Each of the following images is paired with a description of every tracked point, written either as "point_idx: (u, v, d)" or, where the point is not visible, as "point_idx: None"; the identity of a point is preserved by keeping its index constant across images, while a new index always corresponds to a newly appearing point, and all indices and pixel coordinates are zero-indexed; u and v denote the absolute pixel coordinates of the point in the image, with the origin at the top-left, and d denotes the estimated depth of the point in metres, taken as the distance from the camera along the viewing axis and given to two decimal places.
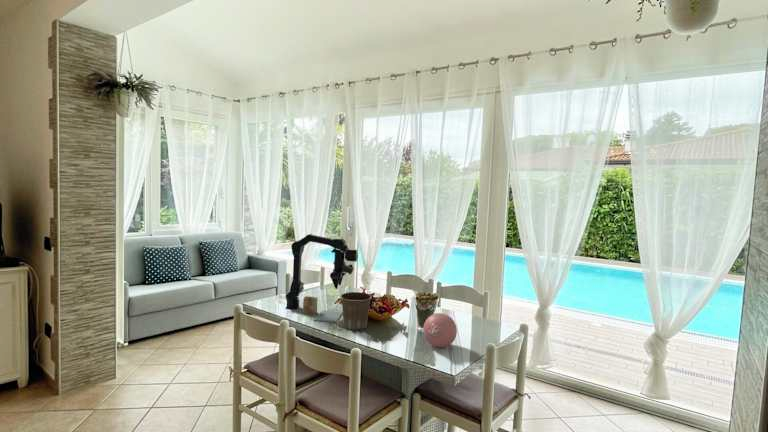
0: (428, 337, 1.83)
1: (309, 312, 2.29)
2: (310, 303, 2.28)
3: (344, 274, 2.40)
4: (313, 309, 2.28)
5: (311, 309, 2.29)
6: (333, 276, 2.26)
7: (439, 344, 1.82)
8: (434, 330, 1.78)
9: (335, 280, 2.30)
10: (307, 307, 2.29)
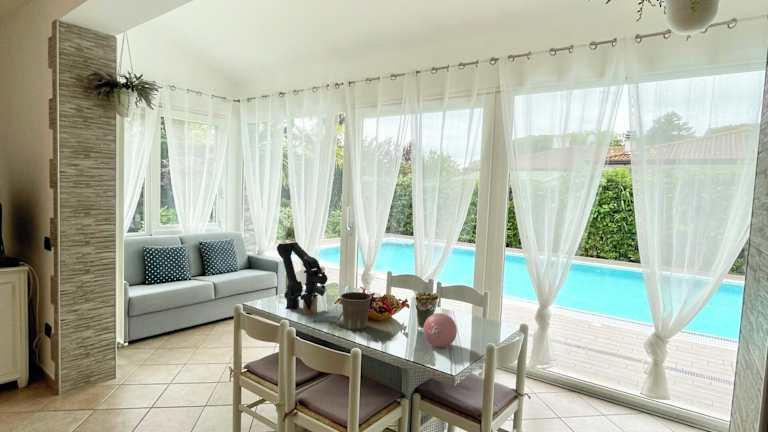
0: (428, 337, 1.83)
1: (309, 312, 2.29)
2: None
3: (316, 296, 2.33)
4: (313, 309, 2.28)
5: (311, 309, 2.29)
6: (304, 298, 2.21)
7: (439, 344, 1.82)
8: (434, 330, 1.78)
9: (307, 301, 2.27)
10: None
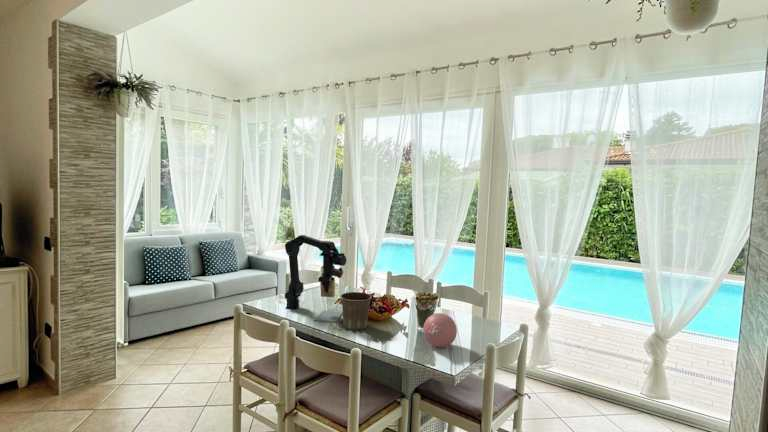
0: (428, 337, 1.83)
1: (327, 295, 2.27)
2: None
3: (333, 279, 2.31)
4: (331, 291, 2.26)
5: (329, 292, 2.27)
6: (321, 280, 2.19)
7: (439, 344, 1.82)
8: (434, 330, 1.78)
9: (325, 284, 2.25)
10: (324, 289, 2.27)
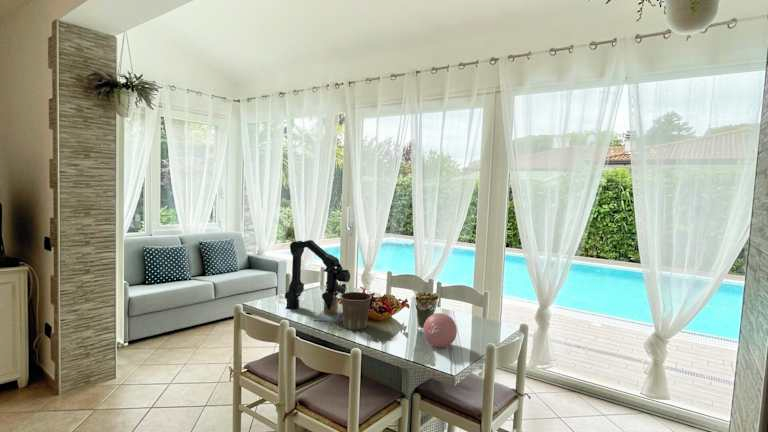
0: (428, 337, 1.83)
1: (330, 312, 2.27)
2: (331, 303, 2.27)
3: (337, 294, 2.33)
4: (334, 309, 2.27)
5: (332, 310, 2.27)
6: (325, 297, 2.20)
7: (439, 344, 1.82)
8: (434, 330, 1.78)
9: (328, 300, 2.24)
10: None
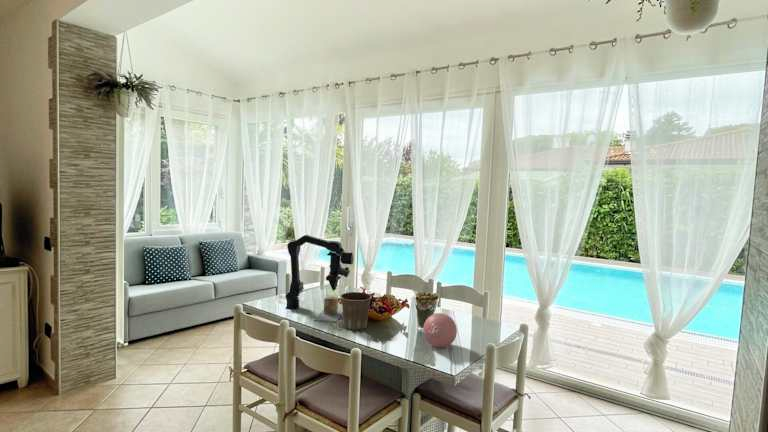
0: (428, 337, 1.83)
1: (330, 312, 2.27)
2: (331, 303, 2.27)
3: (339, 278, 2.37)
4: (334, 309, 2.27)
5: (332, 310, 2.27)
6: (329, 279, 2.26)
7: (439, 344, 1.82)
8: (434, 330, 1.78)
9: (332, 282, 2.33)
10: (327, 307, 2.27)
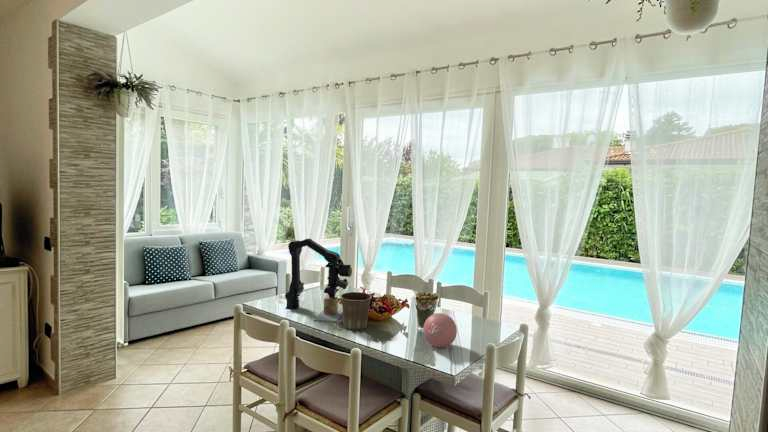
0: (428, 337, 1.83)
1: (330, 312, 2.27)
2: (331, 303, 2.27)
3: (337, 290, 2.33)
4: (334, 309, 2.27)
5: (332, 310, 2.27)
6: (327, 292, 2.23)
7: (439, 344, 1.82)
8: (434, 330, 1.78)
9: (331, 294, 2.31)
10: (327, 307, 2.27)
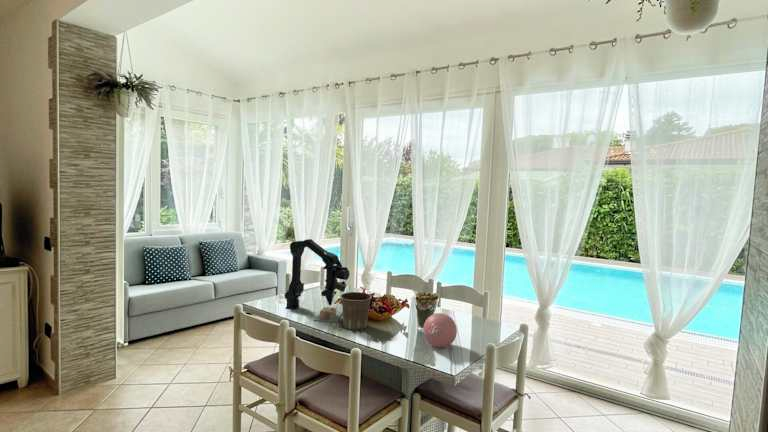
0: (428, 337, 1.83)
1: None
2: None
3: (335, 293, 2.27)
4: None
5: None
6: (324, 294, 2.18)
7: (439, 344, 1.82)
8: (434, 330, 1.78)
9: (329, 296, 2.26)
10: None
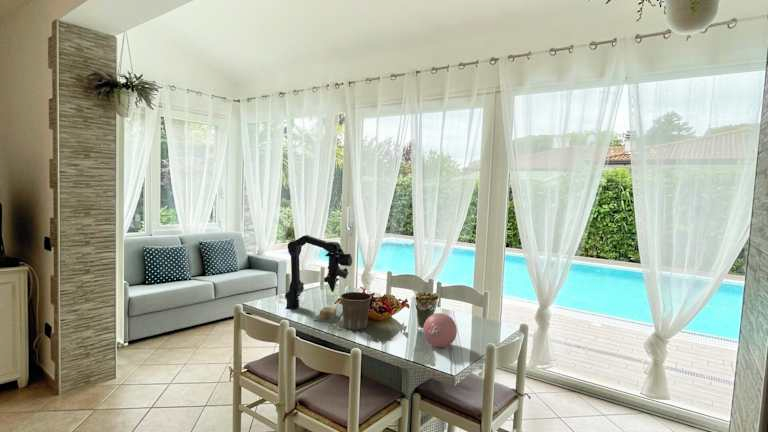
0: (428, 337, 1.83)
1: None
2: None
3: (337, 280, 2.32)
4: None
5: None
6: (327, 281, 2.22)
7: (439, 344, 1.82)
8: (434, 330, 1.78)
9: (331, 283, 2.30)
10: None
